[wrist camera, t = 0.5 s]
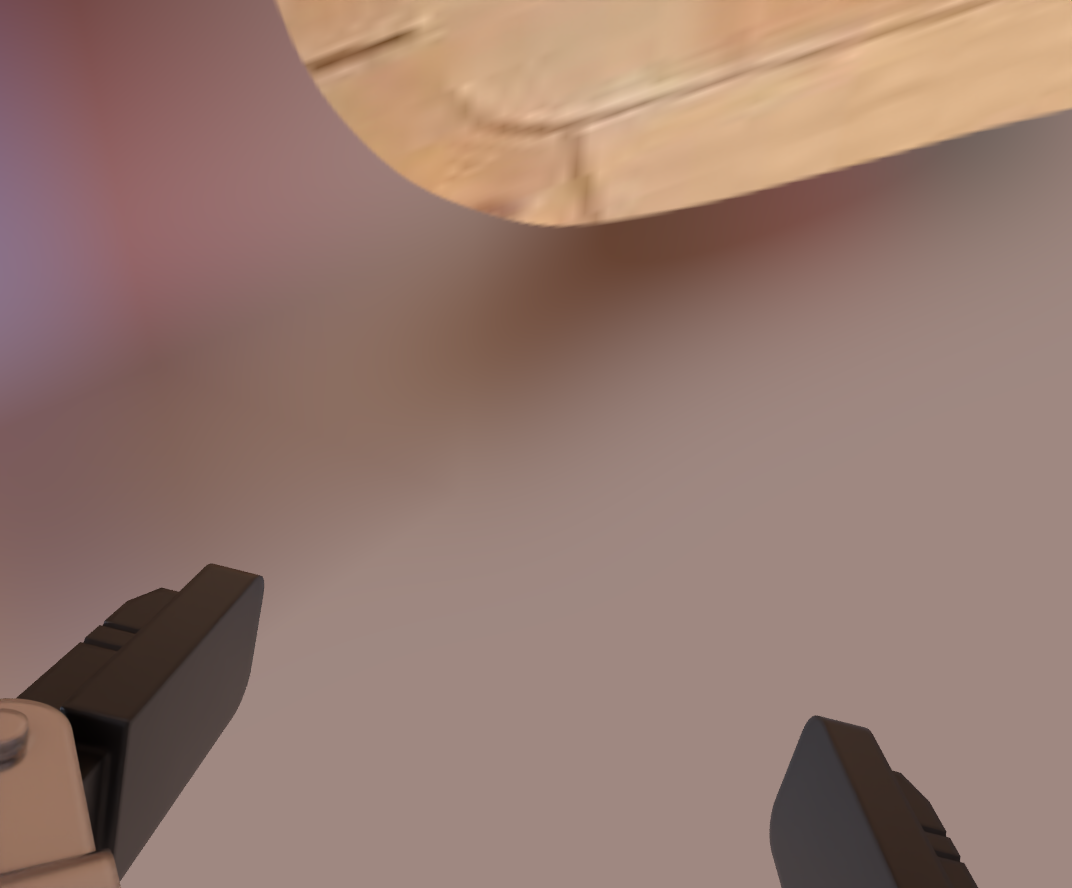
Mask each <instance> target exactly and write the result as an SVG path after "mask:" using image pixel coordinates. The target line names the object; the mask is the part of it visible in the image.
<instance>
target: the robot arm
mask: <svg viewBox="0 0 1072 888" xmlns="http://www.w3.org/2000/svg"><path fill="white" fill-rule="evenodd" d="M263 592H264V580H263V577H262V576H260V575H256V574H252V573H248V572H244V571H240V570H236V569H232V568H228V567H224V566H220V565H216V564H208V565H207V566H206V567H204V568H203V569H202V570H201V571H200V572H199V573H198V574H197V575H196V576H195V577H194V578H193V579H192V580H191V581H190V582H189V583H188V584H187V585H186V586H185V587H184V588H183V589H182V590H181V591H180V592H177V591H173V590H169V589H165V588H159V589H157V590H154V591H152V592H149V593H147V594H144V595H142V596H139V597H137V598H134V599H131V600H129V601H127V602H126V603H125V604H123V605H122V606H121V607H120V608H119V609H118V610H117V611H115V612H114V613H113V614H112V615H111V616H110V617H109V618H108V619H106V620H105V621H104V624H103V626H101V625H99V627H97V628H96V629H95V630H94V631H93V632H91V633H90V634H89V635H88V636H87V637H86V638H85V641H84V642H83V643H81V642H80V643H79V644H78V645H76V646H75V647H74V648H73V649H72V650H71V651H70V652H68V653H67V654H66V655H65V656H64V657H63V658H62V659H60V660H59V661H58V662H57V663H56V664H55V665H54V666H53V667H51V668H50V669H49V670H48V671H47V672H46V673H45V674H43V675H42V676H41V677H40V678H39V679H38V680H36V681H35V682H34V683H33V684H32V685H31V686H30V687H28V688H27V689H26V690H25V691H24V692H23V693H22V694H20V695H19V696H18V697H17V698H16V699H6V698H5V699H0V888H121V887H120V881H121V879H122V878H123V876H124V875H125V873H126V872H127V870H128V869H129V867H130V866H131V865H132V863H133V862H134V860H135V859H136V857H137V856H138V854H139V853H140V852H141V850H142V849H143V847H144V846H145V844H146V843H147V841H148V840H149V838H150V837H151V835H152V834H153V833H154V831H155V829H156V828H157V827H158V825H159V824H160V822H161V821H162V819H163V818H164V817H165V815H166V814H167V812H168V811H169V809H170V808H171V806H172V805H173V803H174V802H175V800H176V799H177V798H178V796H179V794H180V793H181V792H182V790H183V789H184V787H185V786H186V784H187V783H188V782H189V780H190V779H191V777H192V776H193V774H194V773H195V771H196V770H197V768H198V767H199V765H200V764H201V762H202V761H203V760H204V758H205V757H206V755H207V754H208V752H209V751H210V749H211V748H212V746H213V745H214V744H215V742H216V741H217V739H218V738H219V736H220V734H221V733H222V732H223V730H224V729H225V727H226V726H227V725H228V723H229V722H230V720H231V719H232V717H233V715H234V714H235V712H236V711H237V709H238V707H239V705H240V702H241V700H242V697H243V695H244V692H245V690H246V686H247V683H248V679H249V676H250V672H251V666H252V660H253V654H254V648H255V642H256V635H257V630H258V623H259V617H260V612H261V605H262V599H263ZM770 845H771V851H772V855H773V858H774V862H775V865H776V869H777V872H778V876H779V879H780V883H781V887H782V888H978V887H977V885H976V883H975V881H974V880H973V878H972V876H971V874H970V873H969V871H968V869H967V867H966V866H965V864H964V863H961V862H960V855H959V853H958V851H957V850H956V848H955V846H954V845H953V843H952V841H951V839H950V838H948V837H946V830H945V828H944V827H943V825H942V823H941V821H940V820H939V818H938V816H937V814H936V813H935V811H934V809H933V807H932V805H931V804H930V802H929V801H928V800H927V799H926V798H925V797H924V796H923V795H922V794H921V793H920V792H919V791H918V790H917V789H916V788H915V787H914V786H913V785H912V784H911V783H910V782H909V781H908V780H907V779H906V778H905V777H904V776H903V775H902V774H901V773H899V772H895V771H892V770H891V768H890V766H889V764H888V762H887V760H886V758H885V757H884V755H883V753H882V751H881V749H880V747H879V745H878V744H877V742H876V740H875V738H874V736H873V734H872V733H871V731H870V730H869V729H867V728H865V727H861V726H856V725H853V724H849V723H844V722H841V721H837V720H833V719H829V718H825V717H821V716H813V717H812V718H810V719H809V720H808V722H807V723H806V725H805V727H804V729H803V731H802V734H801V736H800V739H799V741H798V744H797V746H796V749H795V751H794V754H793V757H792V759H791V761H790V764H789V767H788V769H787V772H786V774H785V777H784V779H783V782H782V784H781V787H780V789H779V792H778V794H777V797H776V800H775V802H774V805H773V809H772V814H771V821H770Z"/></svg>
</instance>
